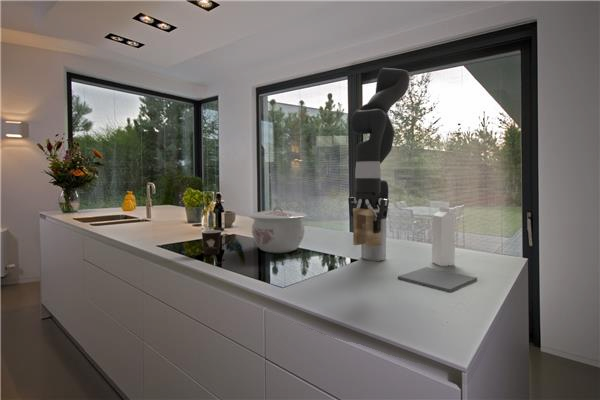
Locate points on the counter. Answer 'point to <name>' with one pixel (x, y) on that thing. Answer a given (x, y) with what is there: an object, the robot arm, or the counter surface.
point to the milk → (443, 238)
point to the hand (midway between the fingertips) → (367, 231)
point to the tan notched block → (365, 228)
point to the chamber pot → (278, 230)
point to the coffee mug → (212, 241)
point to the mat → (438, 279)
